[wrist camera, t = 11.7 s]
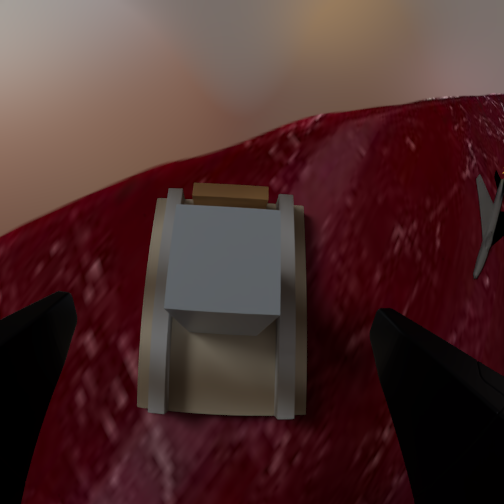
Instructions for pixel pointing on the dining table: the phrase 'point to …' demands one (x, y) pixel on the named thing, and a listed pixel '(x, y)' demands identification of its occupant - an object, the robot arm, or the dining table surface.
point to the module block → (224, 269)
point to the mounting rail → (221, 345)
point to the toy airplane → (489, 219)
